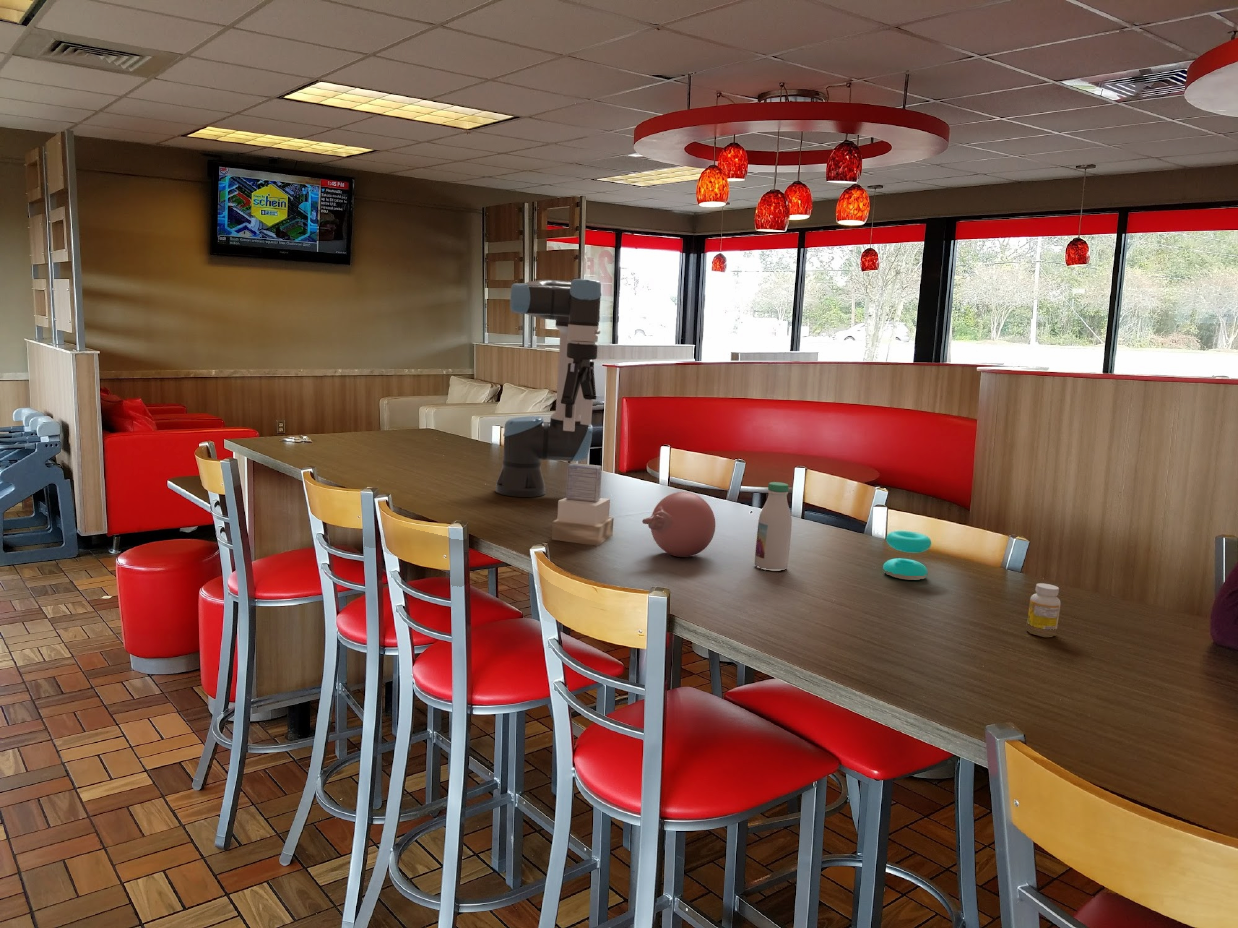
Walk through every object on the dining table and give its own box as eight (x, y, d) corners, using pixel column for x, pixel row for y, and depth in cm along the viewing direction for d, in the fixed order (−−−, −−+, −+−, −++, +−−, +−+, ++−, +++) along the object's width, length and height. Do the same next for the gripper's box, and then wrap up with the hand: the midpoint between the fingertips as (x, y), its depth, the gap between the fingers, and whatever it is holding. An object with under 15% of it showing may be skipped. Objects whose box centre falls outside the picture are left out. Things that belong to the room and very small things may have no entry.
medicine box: (600, 499, 232) (602, 465, 231) (596, 502, 228) (598, 468, 226) (570, 496, 233) (572, 462, 232) (565, 499, 229) (567, 465, 228)
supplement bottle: (1051, 640, 175) (1058, 592, 173) (1022, 633, 178) (1028, 585, 177) (1059, 634, 179) (1066, 586, 177) (1030, 627, 182) (1037, 580, 181)
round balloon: (619, 552, 219) (624, 489, 217) (685, 545, 230) (690, 485, 228) (658, 569, 207) (663, 502, 204) (726, 560, 218) (731, 497, 215)
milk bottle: (790, 566, 217) (798, 483, 213) (784, 574, 209) (793, 488, 206) (757, 561, 219) (765, 479, 216) (751, 569, 212) (758, 484, 209)
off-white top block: (572, 513, 237) (573, 494, 237) (608, 518, 234) (610, 499, 233) (557, 520, 228) (558, 500, 227) (595, 525, 225) (596, 505, 224)
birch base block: (568, 531, 239) (569, 512, 238) (612, 537, 236) (613, 518, 235) (551, 540, 228) (552, 521, 227) (597, 547, 224) (599, 527, 223)
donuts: (909, 528, 220) (941, 538, 211) (904, 569, 221) (936, 580, 213) (877, 530, 215) (909, 541, 206) (873, 571, 217) (904, 583, 208)
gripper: (581, 345, 215) (575, 435, 219) (611, 342, 239) (605, 423, 242) (551, 343, 217) (546, 432, 221) (583, 340, 240) (578, 420, 244)
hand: (577, 427), depth 231 cm, fingers open, 13 cm apart
